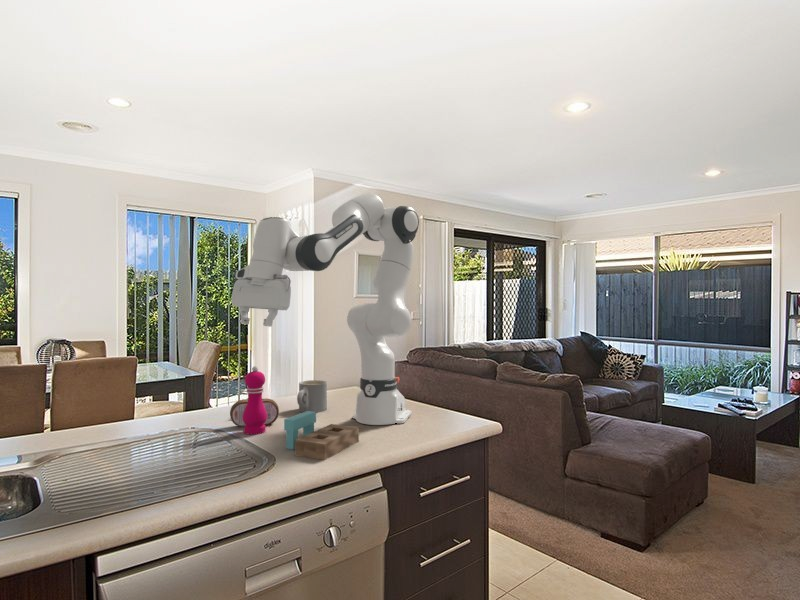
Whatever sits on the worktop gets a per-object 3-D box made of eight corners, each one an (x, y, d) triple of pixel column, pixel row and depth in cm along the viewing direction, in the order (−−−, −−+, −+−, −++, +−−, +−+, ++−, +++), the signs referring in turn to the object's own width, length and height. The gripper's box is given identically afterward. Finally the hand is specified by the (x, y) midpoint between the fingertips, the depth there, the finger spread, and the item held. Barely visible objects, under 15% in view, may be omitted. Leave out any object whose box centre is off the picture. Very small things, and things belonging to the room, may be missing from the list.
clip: (307, 438, 145) (307, 410, 145) (316, 439, 144) (316, 411, 144) (284, 448, 135) (284, 419, 135) (293, 450, 134) (293, 420, 134)
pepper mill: (260, 435, 148) (260, 368, 148) (237, 434, 150) (238, 367, 149) (271, 429, 155) (271, 365, 155) (249, 428, 157) (250, 364, 156)
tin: (278, 422, 164) (278, 397, 164) (279, 425, 161) (279, 398, 161) (229, 426, 159) (230, 399, 159) (229, 428, 156) (229, 401, 156)
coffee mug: (313, 405, 190) (313, 379, 189) (332, 409, 184) (332, 382, 184) (285, 412, 179) (285, 384, 179) (304, 416, 173) (305, 387, 173)
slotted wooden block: (331, 437, 146) (331, 423, 146) (358, 441, 143) (358, 427, 143) (295, 455, 130) (295, 439, 130) (324, 459, 126) (324, 444, 126)
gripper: (300, 277, 132) (291, 329, 130) (250, 277, 144) (241, 324, 142) (282, 271, 127) (272, 325, 125) (232, 271, 139) (222, 321, 137)
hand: (255, 325), depth 134 cm, fingers open, 8 cm apart
